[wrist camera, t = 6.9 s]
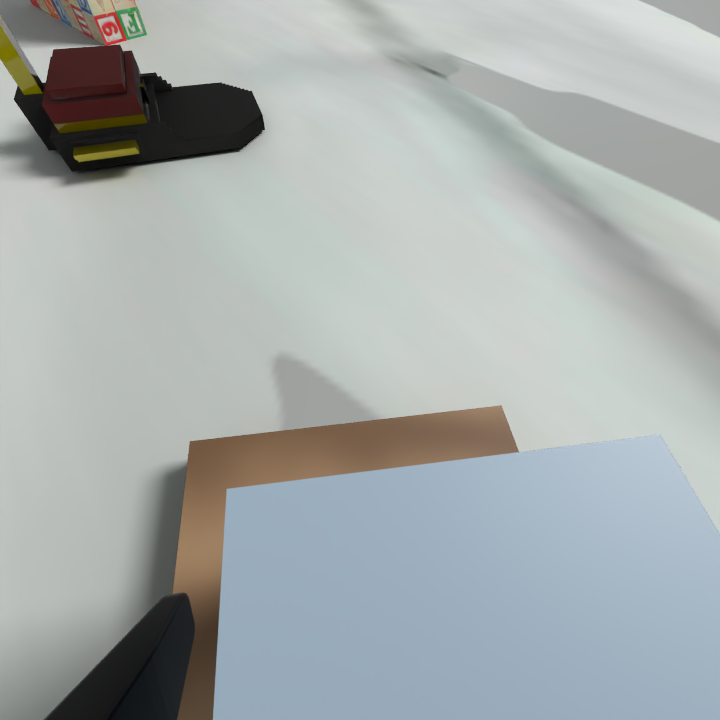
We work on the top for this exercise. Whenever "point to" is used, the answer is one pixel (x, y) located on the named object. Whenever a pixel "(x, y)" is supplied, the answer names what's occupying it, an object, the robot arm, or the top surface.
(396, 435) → the base board
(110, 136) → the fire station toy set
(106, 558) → the top surface
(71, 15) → the stack of blocks
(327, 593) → the column block
